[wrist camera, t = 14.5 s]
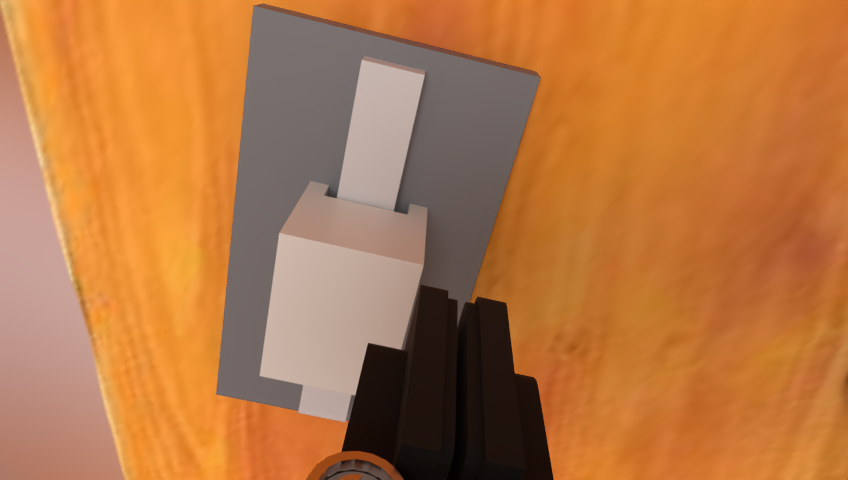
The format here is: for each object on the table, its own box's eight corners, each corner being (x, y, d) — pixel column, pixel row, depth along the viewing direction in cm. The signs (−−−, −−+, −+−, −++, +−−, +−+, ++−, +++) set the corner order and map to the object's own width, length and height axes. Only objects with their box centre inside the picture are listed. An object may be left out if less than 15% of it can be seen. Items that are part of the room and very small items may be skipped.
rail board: (536, 71, 29) (544, 81, 27) (427, 420, 40) (426, 450, 37) (262, 3, 28) (245, 7, 26) (224, 379, 39) (209, 407, 36)
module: (427, 207, 31) (423, 265, 25) (396, 327, 35) (386, 402, 29) (310, 180, 31) (279, 233, 25) (291, 304, 34) (259, 376, 28)
